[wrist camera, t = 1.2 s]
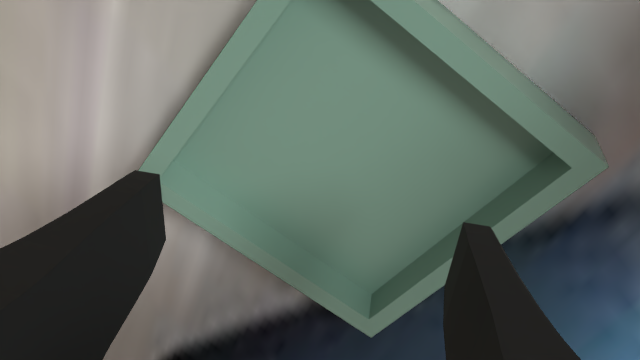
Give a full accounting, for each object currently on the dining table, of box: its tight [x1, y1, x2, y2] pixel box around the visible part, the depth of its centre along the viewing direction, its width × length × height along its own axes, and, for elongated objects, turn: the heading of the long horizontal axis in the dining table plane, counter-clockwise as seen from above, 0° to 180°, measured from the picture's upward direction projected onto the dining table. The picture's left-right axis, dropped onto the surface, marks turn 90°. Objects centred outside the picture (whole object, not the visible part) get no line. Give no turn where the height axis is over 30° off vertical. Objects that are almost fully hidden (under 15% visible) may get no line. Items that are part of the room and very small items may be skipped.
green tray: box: [138, 0, 609, 337], centre depth 21 cm, size 12×12×2 cm
